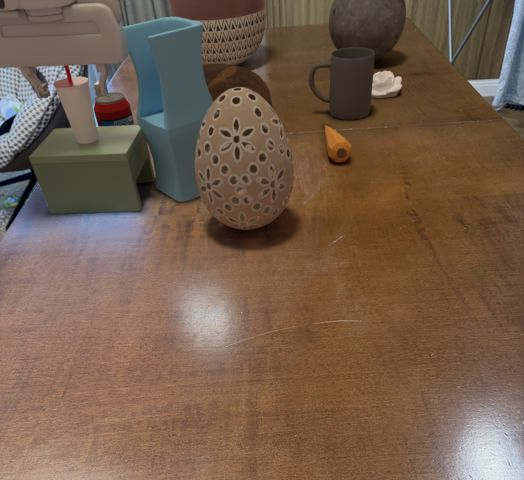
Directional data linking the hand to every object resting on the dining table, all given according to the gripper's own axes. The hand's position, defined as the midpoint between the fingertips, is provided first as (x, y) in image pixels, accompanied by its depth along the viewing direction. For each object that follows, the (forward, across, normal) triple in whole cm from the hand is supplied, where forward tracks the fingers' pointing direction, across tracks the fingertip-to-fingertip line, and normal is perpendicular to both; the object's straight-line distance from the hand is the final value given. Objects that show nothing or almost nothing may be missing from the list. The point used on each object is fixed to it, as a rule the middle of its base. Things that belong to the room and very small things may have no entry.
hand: (73, 96), depth 79 cm
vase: (+17, -16, -3) cm, 23 cm away
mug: (+16, -44, -36) cm, 60 cm away
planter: (+17, -14, -80) cm, 83 cm away
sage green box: (+17, 0, 0) cm, 17 cm away
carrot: (+16, -42, -19) cm, 49 cm away
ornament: (+17, -28, +11) cm, 34 cm away
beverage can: (+17, 0, -15) cm, 23 cm away
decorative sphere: (+16, -54, -75) cm, 94 cm away
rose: (+16, -56, -49) cm, 76 cm away
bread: (+17, -14, -42) cm, 48 cm away
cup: (+7, 0, 0) cm, 7 cm away
